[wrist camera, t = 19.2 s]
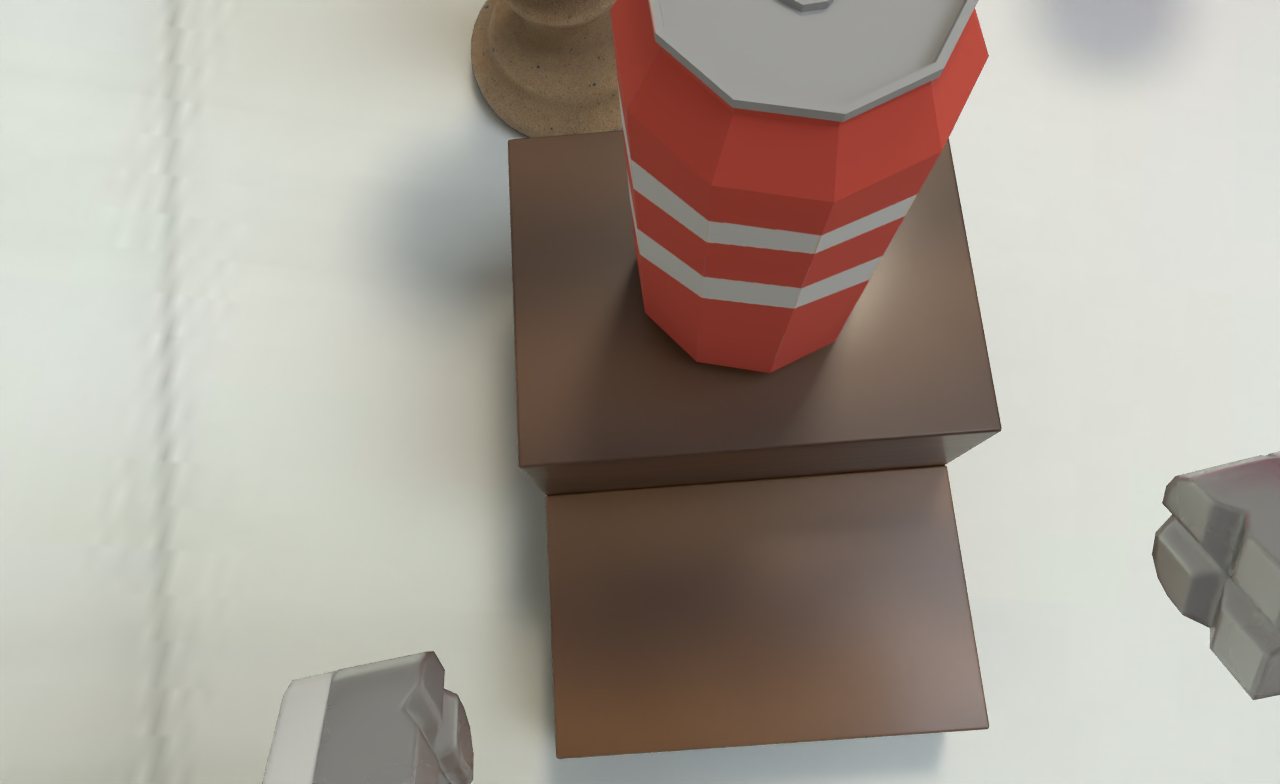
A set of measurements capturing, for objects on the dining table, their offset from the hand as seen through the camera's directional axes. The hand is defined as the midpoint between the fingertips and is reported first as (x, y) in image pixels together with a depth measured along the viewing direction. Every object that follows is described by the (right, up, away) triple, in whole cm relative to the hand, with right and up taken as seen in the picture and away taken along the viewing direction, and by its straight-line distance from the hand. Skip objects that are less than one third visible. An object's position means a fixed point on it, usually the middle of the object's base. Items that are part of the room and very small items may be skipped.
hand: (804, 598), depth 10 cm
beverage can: (+1, +6, +15) cm, 16 cm away
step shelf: (+2, -1, +23) cm, 23 cm away
